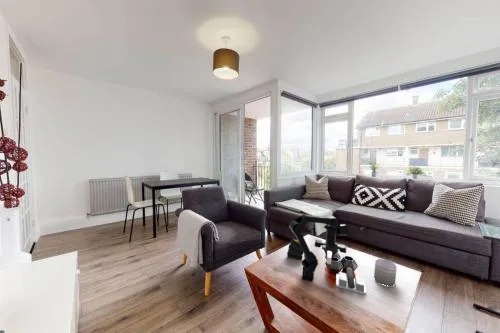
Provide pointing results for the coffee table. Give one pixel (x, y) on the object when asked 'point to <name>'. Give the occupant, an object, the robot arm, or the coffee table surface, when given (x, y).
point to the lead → (350, 278)
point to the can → (385, 272)
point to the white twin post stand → (343, 283)
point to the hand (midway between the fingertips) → (329, 258)
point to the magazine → (295, 250)
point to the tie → (329, 257)
